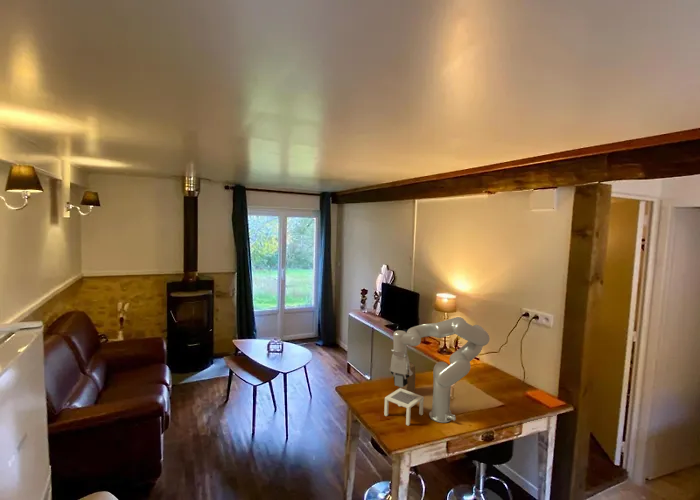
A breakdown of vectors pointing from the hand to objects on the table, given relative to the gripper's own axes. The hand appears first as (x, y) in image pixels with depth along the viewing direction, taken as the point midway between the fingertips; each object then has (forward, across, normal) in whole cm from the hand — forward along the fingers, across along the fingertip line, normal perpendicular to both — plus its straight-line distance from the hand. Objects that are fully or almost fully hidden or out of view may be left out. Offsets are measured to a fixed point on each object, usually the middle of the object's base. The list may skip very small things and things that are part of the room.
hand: (400, 383), depth 212 cm
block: (+19, -9, +26) cm, 34 cm away
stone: (+1, 0, 0) cm, 1 cm away
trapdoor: (+9, +2, +1) cm, 9 cm away
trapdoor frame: (+19, +1, +1) cm, 19 cm away
